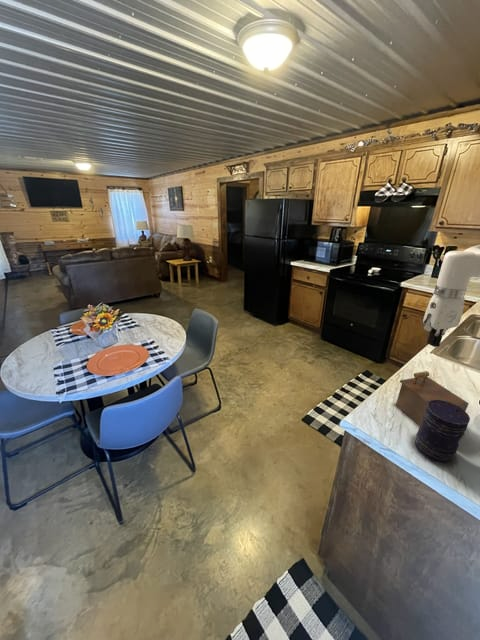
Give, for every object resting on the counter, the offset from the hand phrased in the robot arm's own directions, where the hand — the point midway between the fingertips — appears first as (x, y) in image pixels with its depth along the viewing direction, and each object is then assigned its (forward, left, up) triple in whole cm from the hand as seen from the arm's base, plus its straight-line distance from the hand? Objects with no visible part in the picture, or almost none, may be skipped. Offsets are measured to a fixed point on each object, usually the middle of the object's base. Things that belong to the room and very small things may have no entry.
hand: (432, 344), depth 88 cm
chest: (0, +5, -26) cm, 26 cm away
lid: (0, +5, -16) cm, 17 cm away
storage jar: (+10, +17, -26) cm, 33 cm away
